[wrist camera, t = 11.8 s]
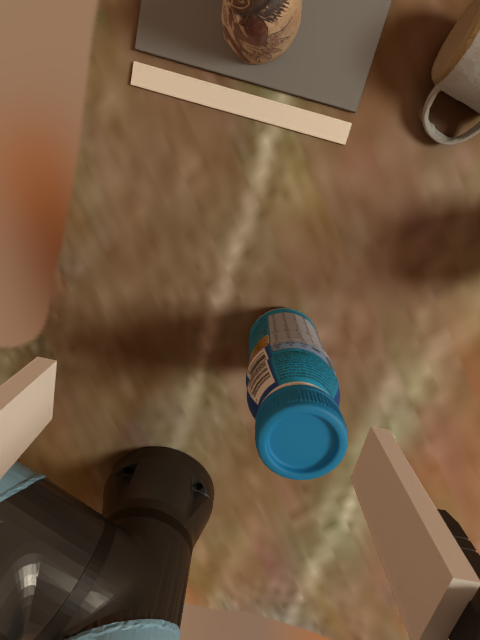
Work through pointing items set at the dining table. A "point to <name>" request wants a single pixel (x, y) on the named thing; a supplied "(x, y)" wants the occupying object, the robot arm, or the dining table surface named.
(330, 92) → the mat
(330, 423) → the beverage bottle
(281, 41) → the figurine
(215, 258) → the dining table surface
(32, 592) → the robot arm
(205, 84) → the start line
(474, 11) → the ceramic mug
